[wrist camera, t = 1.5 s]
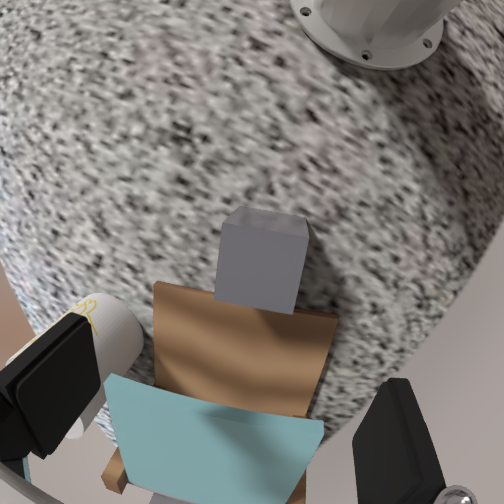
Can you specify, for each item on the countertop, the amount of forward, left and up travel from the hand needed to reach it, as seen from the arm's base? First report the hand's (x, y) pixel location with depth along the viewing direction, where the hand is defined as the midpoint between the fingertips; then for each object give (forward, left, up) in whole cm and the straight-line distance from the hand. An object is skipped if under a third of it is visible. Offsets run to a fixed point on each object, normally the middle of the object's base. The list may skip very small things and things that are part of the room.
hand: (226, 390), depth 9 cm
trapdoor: (+16, -1, -7) cm, 18 cm away
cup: (+12, -14, -16) cm, 25 cm away
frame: (+13, -1, -16) cm, 21 cm away
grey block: (0, 0, -16) cm, 16 cm away
